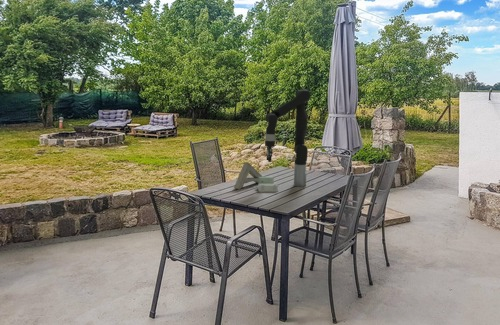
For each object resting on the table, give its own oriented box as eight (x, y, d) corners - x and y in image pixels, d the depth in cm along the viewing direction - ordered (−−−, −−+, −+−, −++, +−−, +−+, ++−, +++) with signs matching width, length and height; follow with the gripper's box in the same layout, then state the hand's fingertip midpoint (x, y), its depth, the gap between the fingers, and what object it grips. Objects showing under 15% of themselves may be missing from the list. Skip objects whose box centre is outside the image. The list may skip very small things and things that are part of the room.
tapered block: (273, 187, 295) (273, 176, 293) (273, 188, 292) (273, 177, 290) (259, 187, 294) (259, 176, 292) (259, 188, 290) (259, 177, 289)
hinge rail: (276, 189, 289) (276, 182, 288) (278, 191, 281) (278, 185, 280) (258, 189, 287) (258, 182, 287) (259, 191, 280) (259, 185, 279)
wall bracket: (256, 204, 306) (238, 188, 283) (252, 203, 308) (233, 187, 286) (266, 180, 313) (248, 162, 291) (261, 179, 316) (244, 162, 293)
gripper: (276, 141, 282) (275, 162, 285) (273, 139, 296) (272, 159, 299) (266, 140, 281) (265, 162, 284) (264, 138, 295) (262, 159, 298)
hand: (268, 161), depth 291 cm, fingers open, 8 cm apart
